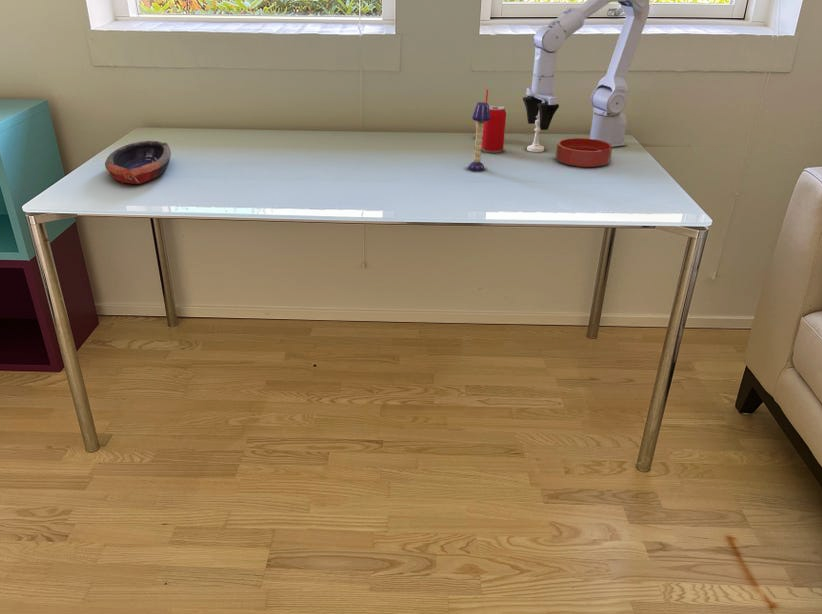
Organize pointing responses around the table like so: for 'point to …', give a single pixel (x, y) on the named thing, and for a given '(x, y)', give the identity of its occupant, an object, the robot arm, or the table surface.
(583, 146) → the bowl
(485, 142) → the beverage can
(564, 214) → the table surface
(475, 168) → the toy lamp
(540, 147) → the chess piece
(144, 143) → the dish
